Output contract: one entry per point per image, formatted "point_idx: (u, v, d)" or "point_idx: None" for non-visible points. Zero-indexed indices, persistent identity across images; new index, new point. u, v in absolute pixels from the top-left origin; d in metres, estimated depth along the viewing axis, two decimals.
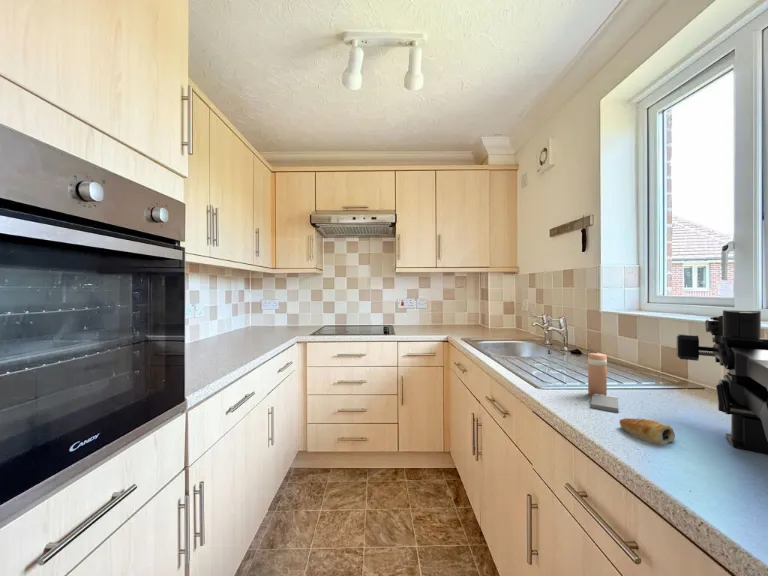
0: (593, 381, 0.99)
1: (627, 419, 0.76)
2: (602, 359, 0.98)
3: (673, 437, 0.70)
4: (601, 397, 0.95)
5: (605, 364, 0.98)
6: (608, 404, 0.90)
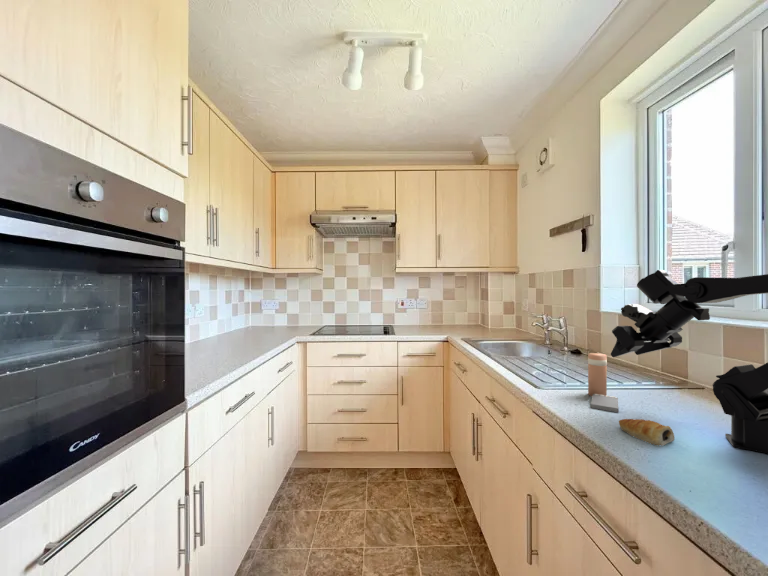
0: (593, 381, 0.99)
1: (626, 420, 0.76)
2: (602, 359, 0.98)
3: (673, 437, 0.70)
4: (601, 397, 0.95)
5: (605, 364, 0.98)
6: (608, 404, 0.90)
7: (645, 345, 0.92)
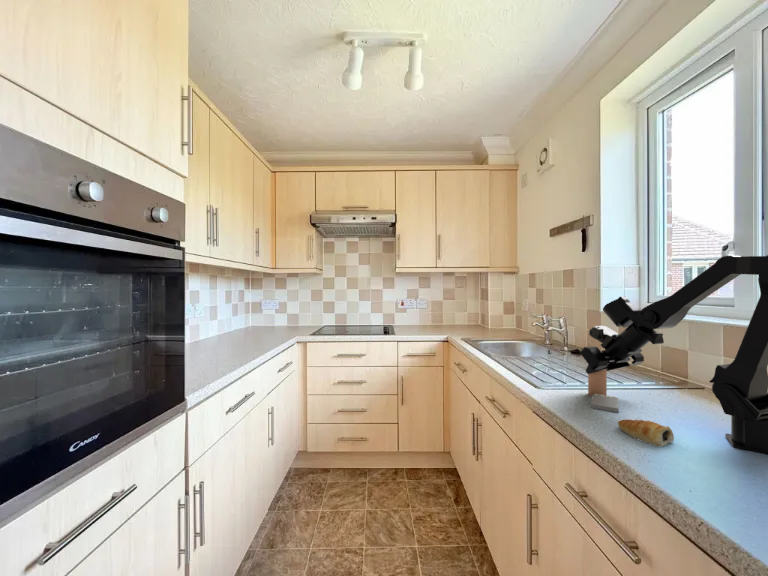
0: (593, 381, 0.99)
1: (626, 420, 0.75)
2: None
3: (672, 438, 0.70)
4: (601, 397, 0.95)
5: None
6: (608, 404, 0.90)
7: None
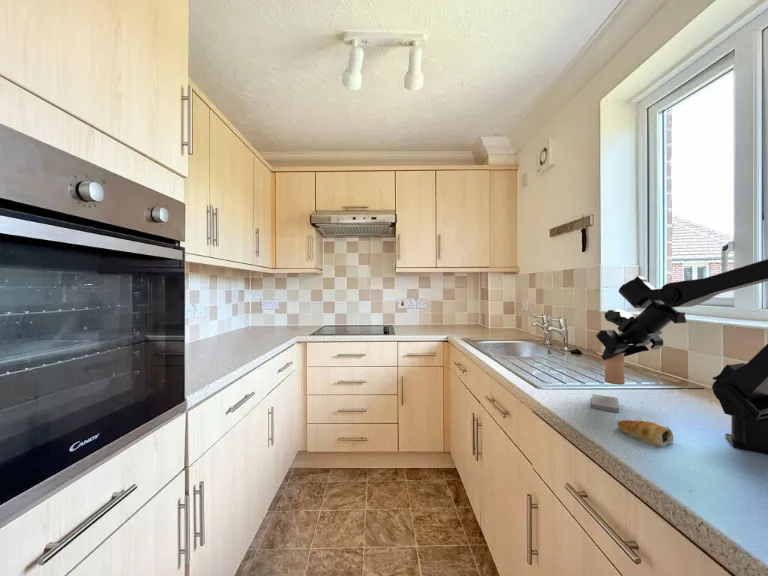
0: (610, 367, 0.94)
1: (625, 421, 0.75)
2: None
3: (672, 439, 0.69)
4: (601, 397, 0.95)
5: None
6: (608, 404, 0.90)
7: None
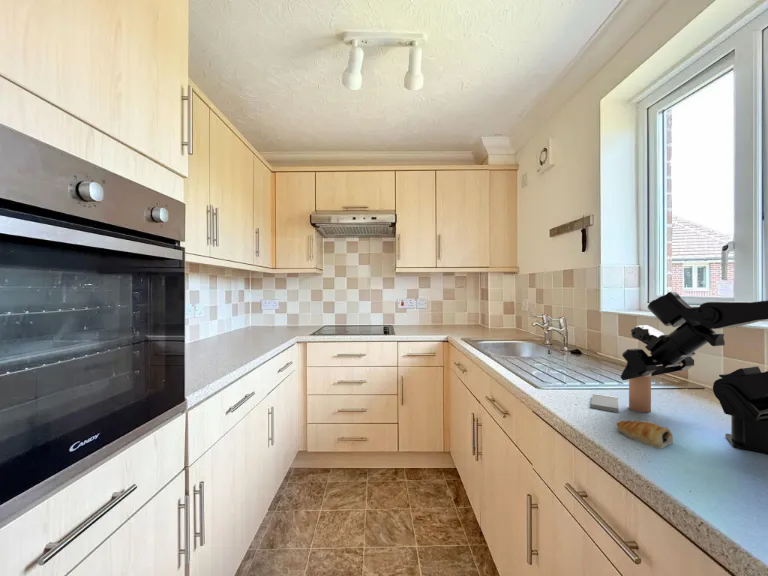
0: (636, 394, 0.87)
1: (624, 422, 0.75)
2: None
3: (671, 439, 0.69)
4: (601, 397, 0.95)
5: (650, 374, 0.87)
6: (608, 404, 0.90)
7: (656, 367, 0.89)
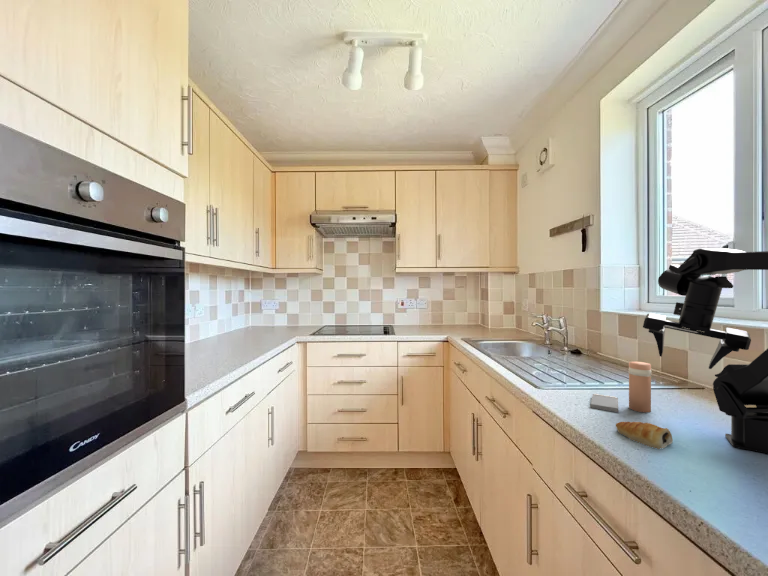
0: (636, 394, 0.87)
1: (624, 422, 0.74)
2: (646, 369, 0.86)
3: (671, 440, 0.69)
4: (601, 397, 0.95)
5: (650, 374, 0.87)
6: (608, 404, 0.90)
7: (714, 354, 0.80)
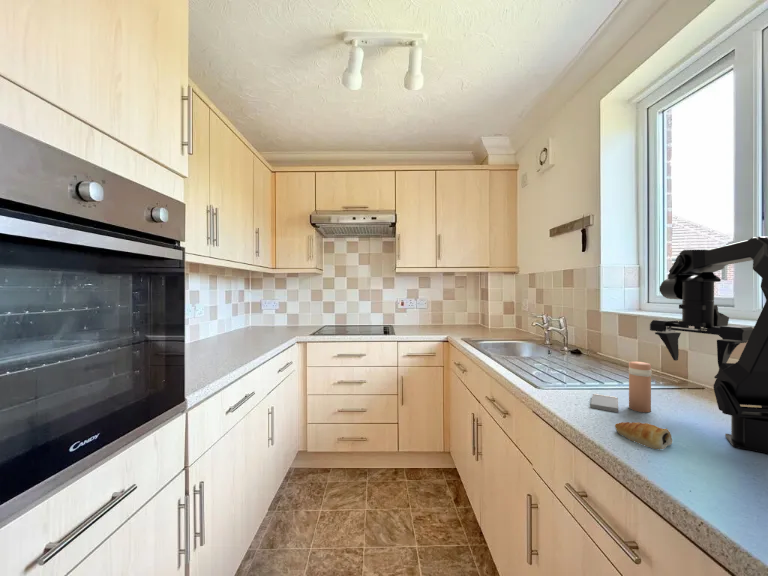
0: (636, 394, 0.87)
1: (623, 423, 0.74)
2: (646, 369, 0.86)
3: (671, 440, 0.69)
4: (601, 397, 0.95)
5: (650, 374, 0.87)
6: (608, 404, 0.90)
7: None
